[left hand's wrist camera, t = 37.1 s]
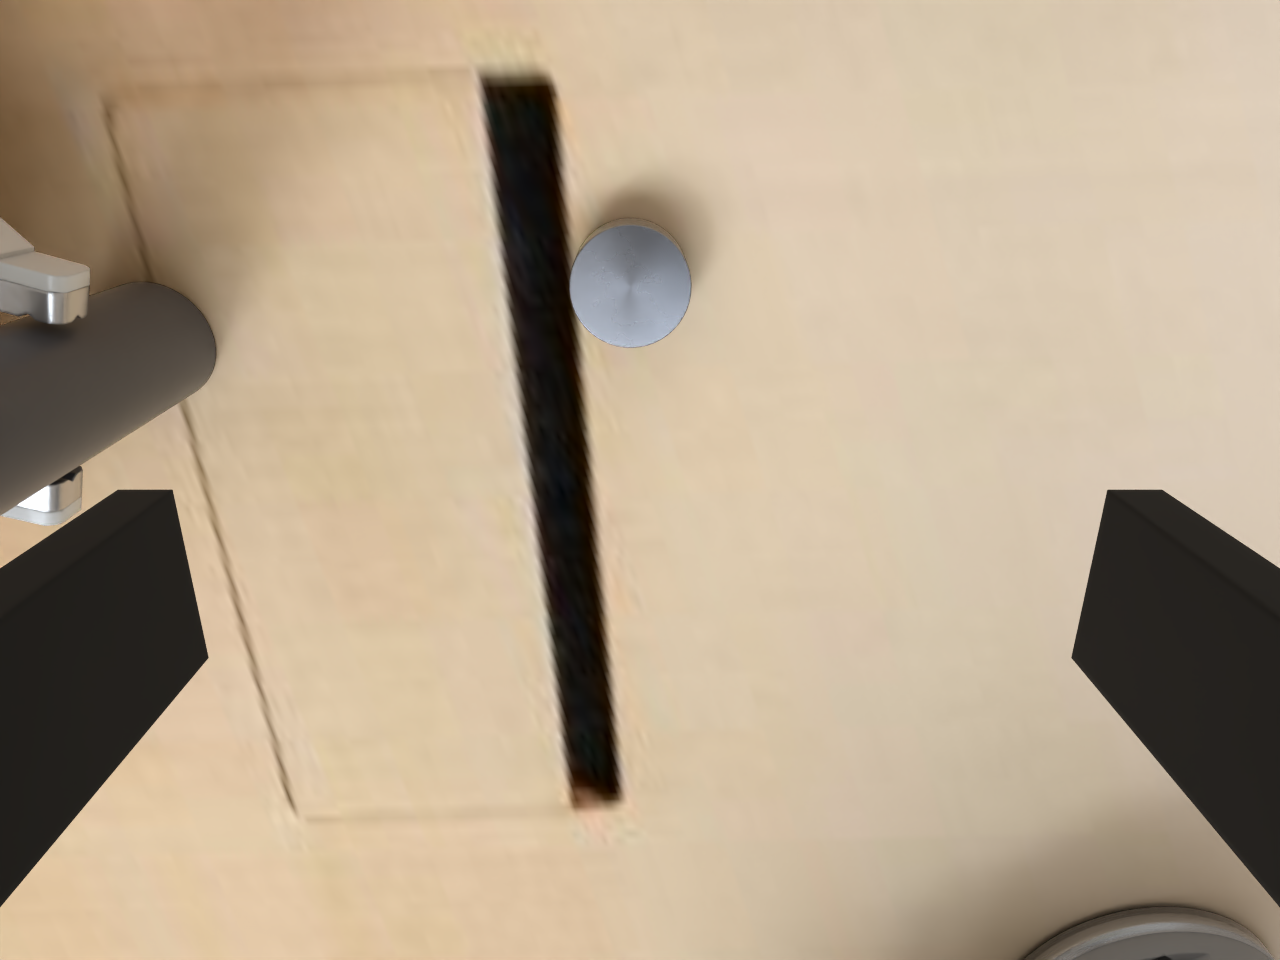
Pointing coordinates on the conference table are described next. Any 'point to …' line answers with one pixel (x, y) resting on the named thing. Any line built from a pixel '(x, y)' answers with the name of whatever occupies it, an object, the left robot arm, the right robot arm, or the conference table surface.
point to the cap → (630, 283)
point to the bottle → (93, 380)
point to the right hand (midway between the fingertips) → (75, 401)
